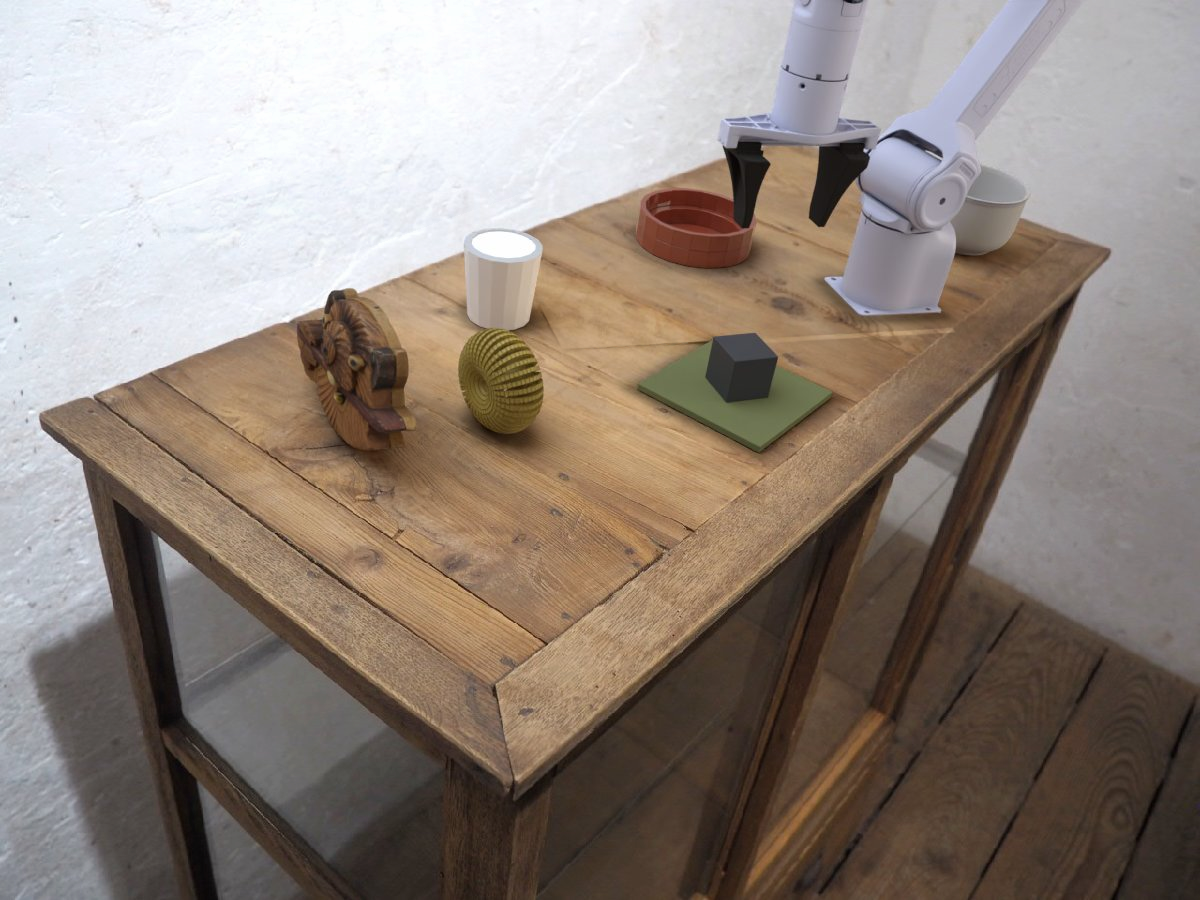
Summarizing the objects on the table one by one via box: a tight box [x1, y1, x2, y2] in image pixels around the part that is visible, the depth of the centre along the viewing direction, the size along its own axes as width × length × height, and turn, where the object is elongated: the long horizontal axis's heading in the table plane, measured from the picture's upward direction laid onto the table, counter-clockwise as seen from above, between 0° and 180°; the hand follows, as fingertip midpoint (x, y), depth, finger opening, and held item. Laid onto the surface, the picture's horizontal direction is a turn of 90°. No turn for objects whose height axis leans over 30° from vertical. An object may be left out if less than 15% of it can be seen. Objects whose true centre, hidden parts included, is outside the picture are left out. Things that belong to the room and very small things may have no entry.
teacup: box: [950, 162, 1031, 257], centre depth 119 cm, size 14×11×8 cm
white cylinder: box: [463, 227, 544, 331], centre depth 93 cm, size 7×7×7 cm
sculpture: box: [457, 328, 545, 435], centre depth 78 cm, size 8×4×8 cm, turn 40°
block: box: [705, 332, 779, 402], centre depth 87 cm, size 4×4×4 cm
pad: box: [636, 339, 833, 453], centre depth 88 cm, size 12×12×1 cm
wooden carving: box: [296, 287, 417, 451], centre depth 75 cm, size 16×5×10 cm, turn 38°
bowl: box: [635, 187, 758, 269], centre depth 111 cm, size 12×12×4 cm
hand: (779, 223), depth 95 cm, fingers open, 7 cm apart
